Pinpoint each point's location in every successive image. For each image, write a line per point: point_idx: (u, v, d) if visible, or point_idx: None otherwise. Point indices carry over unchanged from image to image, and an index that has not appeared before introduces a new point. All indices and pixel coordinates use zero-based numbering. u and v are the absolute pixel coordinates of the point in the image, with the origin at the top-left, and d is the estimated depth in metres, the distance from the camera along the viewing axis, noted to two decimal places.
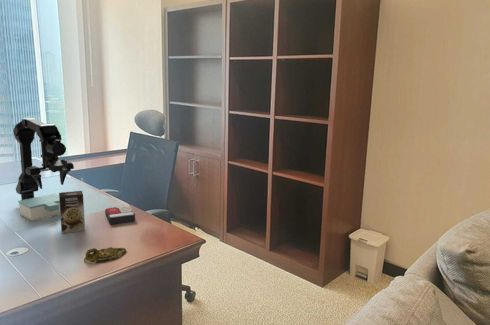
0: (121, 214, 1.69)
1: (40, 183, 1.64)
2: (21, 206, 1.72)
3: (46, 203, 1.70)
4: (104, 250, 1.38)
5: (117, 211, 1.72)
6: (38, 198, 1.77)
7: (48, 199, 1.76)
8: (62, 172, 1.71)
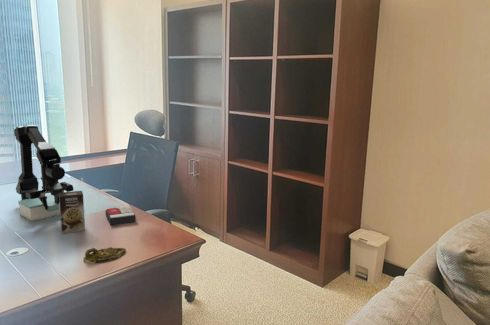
0: (121, 214, 1.68)
1: (46, 205, 1.67)
2: (21, 206, 1.72)
3: None
4: (104, 250, 1.38)
5: (117, 211, 1.72)
6: (38, 198, 1.77)
7: (48, 199, 1.76)
8: (56, 195, 1.71)
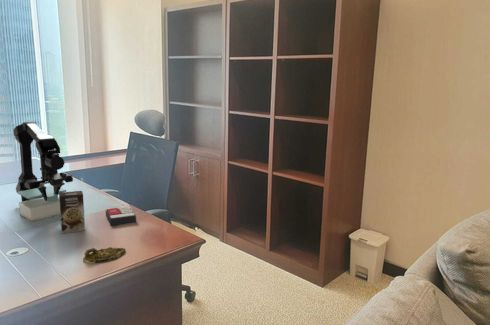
0: (122, 215, 1.68)
1: (45, 195, 1.66)
2: (21, 206, 1.72)
3: None
4: (103, 250, 1.38)
5: (118, 212, 1.71)
6: (37, 189, 1.76)
7: (48, 190, 1.75)
8: (56, 186, 1.70)
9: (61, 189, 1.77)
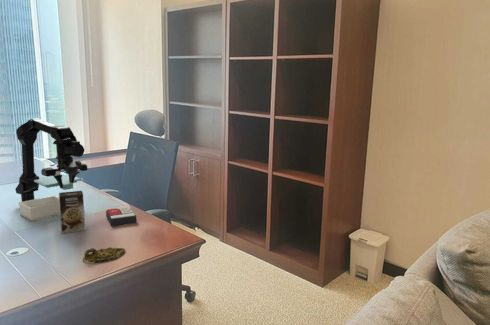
0: (122, 215, 1.67)
1: (61, 183, 1.70)
2: (21, 206, 1.72)
3: None
4: (103, 250, 1.38)
5: (118, 212, 1.71)
6: (53, 178, 1.81)
7: (63, 179, 1.80)
8: (71, 174, 1.74)
9: (76, 178, 1.82)
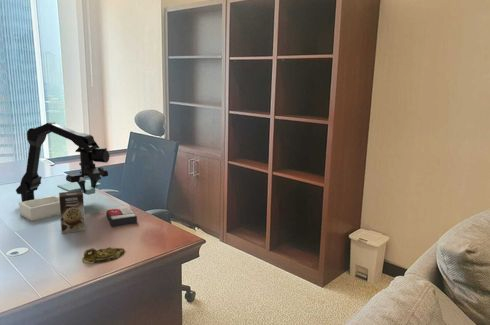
0: (123, 216, 1.67)
1: (84, 188, 1.80)
2: (21, 206, 1.72)
3: None
4: (102, 250, 1.37)
5: (118, 213, 1.70)
6: (75, 183, 1.90)
7: None
8: (93, 180, 1.83)
9: None
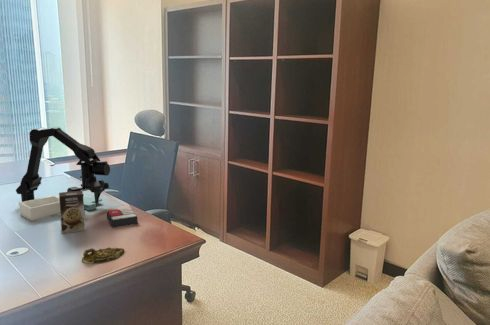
0: (123, 216, 1.66)
1: None
2: (21, 206, 1.72)
3: (84, 203, 1.85)
4: (102, 250, 1.37)
5: (119, 213, 1.70)
6: None
7: (85, 200, 1.91)
8: (97, 192, 1.86)
9: None
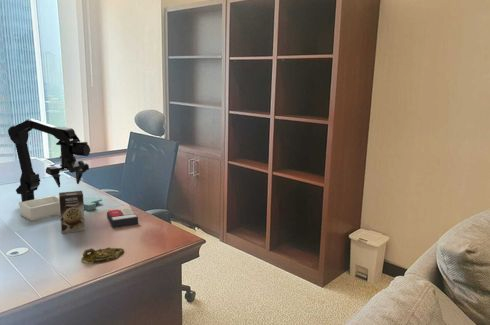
0: (124, 216, 1.66)
1: (58, 182, 1.79)
2: (21, 206, 1.72)
3: (84, 203, 1.85)
4: (102, 250, 1.37)
5: (119, 213, 1.69)
6: None
7: (85, 200, 1.91)
8: (78, 172, 1.86)
9: (97, 199, 1.93)
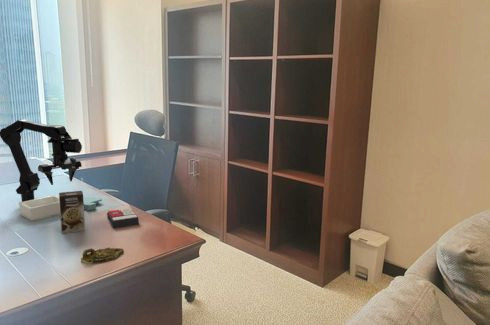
0: (124, 217, 1.65)
1: (51, 180, 1.80)
2: (21, 206, 1.72)
3: (84, 203, 1.85)
4: (101, 250, 1.37)
5: (120, 214, 1.69)
6: None
7: (85, 200, 1.91)
8: (71, 170, 1.87)
9: (97, 199, 1.93)
